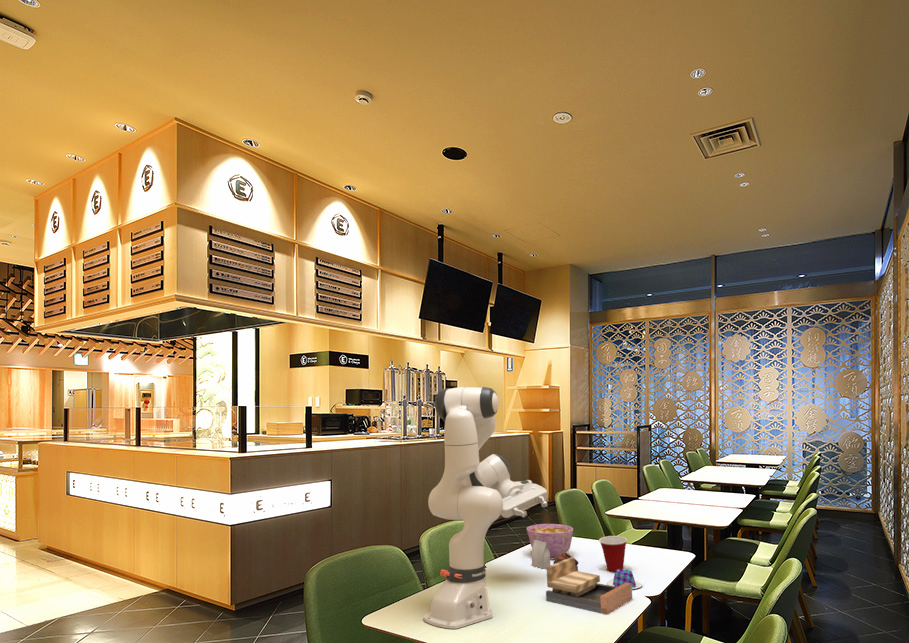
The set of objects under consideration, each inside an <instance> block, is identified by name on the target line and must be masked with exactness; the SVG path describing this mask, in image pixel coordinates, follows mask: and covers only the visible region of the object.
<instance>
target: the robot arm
mask: <svg viewBox="0 0 909 643" xmlns="http://www.w3.org/2000/svg"><path fill="white" fill-rule="evenodd" d="M434 399H435V400H434V409H435V412H436V415H437V416H439V418H440V419H442V420H443V422H444V431H443V434H444V436H443V438H444V439H443V440H444V443H443V444H444V471H443V474H442V477H441V479H440V481H439V482H438V484H437V485H436V486H435V487H433V489H432V490H431V491H430V493H429V495H428V501H427V503H428V505H427V506H428V509H429V511H430V513H431V514H432V515H433V516H435V517H438V518H441V519H444V520H453V521H462V522H463V528H462V530H460V531H459V532H458V531H457V532H456V533H455V534H454V535H453V536H452V537H451V538H450V540H449V542H448V550H449V553H448V554H449V558H448V559H449V565H448V567H447V569H441V570H440V572H439V575H440V576H441V577H445V581H443V583H442V585H440V588H438V590H437V592H436V593H435V594H434V595H433V597H432V599H431V603H430V604H431V605H430V611H429V612H427V613H426V614H424V615H423V617H422V618H423V619H422V620H423V621H424V622H426V623H427V624H429V625H432V626H436V627H439V628H442V629H443V628H444V629H450V630H451V629H452V630H454V629H456V630H457V629H460V628H463V627H467V626H469V625H472V624H473V625H474V624H476V623H479V622H482V621H486V620H489V619H492V618H493V613H492V611H491V607H490V599H489V591H488V588H487V584H486V581H485V579H486V574H487V573H486V571H487V570H486V565H485V563H484V562H485V558H484V557H485V555H484V553H485V552H484V551H485V550H484V548H485V538H486V535H487V532H488V530H489V528H490V527H491V525H492V524H493V523H494V522H495V521H497V520H498V519H499V518H500V516H502V517H503V518H504V519H509V518H510V517H513V516H519V517H521V518H525V517H527V516H528V513H527V511H526V510H528V509H531V508H532V507H535V506H537V505H538V504H540V505H541V507H542V508H546V507H548V502H547V500H548V497H549V495H548V490H547V488H545V487H543V486H541V485H539V484H537V483H533V481H532V480H530V479H526V480H521V481H520V480H519V481H513V480H511V476H512V475H511V466H510V464H509V462H508V461H507V459H506V458H505V457H504V456H502V455H500V454H497V453H492V454H490V455H489V456H487V457H486V458H484V459H483V460H482V461H480V451H479V450H480V449H481V448H482V447H483V446H484V444H485V443H486V442H487V441H488V440H489V439H490V438H491V437H492V435H493V434H494V433H495V431H496V430H495V429H496V425H497V422H496V414H497V412H498V408H499V397H498V394H497V392H496V391H495V389H493V388H491V387H488V386H482V387H478V386H477V387H473V386H469V387H468V386H459V387H453V388H449V387H448V388H443V389H441V390H439V391H438V392H437V393H436V395H435V398H434Z"/></svg>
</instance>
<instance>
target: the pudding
mask: <svg viewBox="0 0 909 643" xmlns="http://www.w3.org/2000/svg"><path fill="white" fill-rule="evenodd" d="M613 575H614V576H613V579H610V580H608V581H607V583H606V585H609V586H614V587H618V586H620V585H622V584H624V583H631V585H632V590H635V589H638V588H641V587H642V586H643V584H642V583H641V582H639V581H638V580H635V577H634V574H633V572H632V570H629V568H627V569H626V568H623V569H618V570H616V571H615V573H614V574H613Z"/></svg>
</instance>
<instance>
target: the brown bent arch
mask: <svg viewBox="0 0 909 643" xmlns="http://www.w3.org/2000/svg"><path fill="white" fill-rule="evenodd" d="M570 557H572V558H574V556H572V555H570V554H569V553H564V552H562V554H561V555H559V556H557V557H556V558H555V559H554V560H553V563H552V565H553V564H555V563H558V562H560V561H563V560H565V559H568V558H570ZM578 565H579V561H578V560H577V559H576V558H575V571H579V567H578Z"/></svg>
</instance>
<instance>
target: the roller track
mask: <svg viewBox="0 0 909 643" xmlns="http://www.w3.org/2000/svg"><path fill="white" fill-rule="evenodd" d="M595 585H596V587H595V588H594V589H592V590H590V591H588V592H586V593H584V594H582V595H580V596H573V595H571V594H564V593H561V592H560V593H559V592H555V591H552V590H549V589H548V590H545V600H546V602H551V603H554V604H558V605H564V606H568V607H572V608H576V609H582V610H585V611H589V612H590V611H591V612H595V613H599V614H602V615H609V614H610V612H611V613H612V612H614V611H616V610H618V609H619V608H621V607H622V606H623V604H624V603H626V602H627V603H629V602H631V601H632V600H633V589H632V585H631V583H624V584H622V585H620V586H618V587H614V585H613V586H609V585H608V584H604V583H603V584H602V583H600V582H598V583H596V584H595ZM631 599H632V600H631ZM630 600H631V601H630ZM628 601H629V602H628ZM627 603H626V604H627ZM621 605H622V606H621ZM624 605H625V604H624ZM620 606H621V607H620ZM618 607H619V608H618ZM615 609H616V610H615Z"/></svg>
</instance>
